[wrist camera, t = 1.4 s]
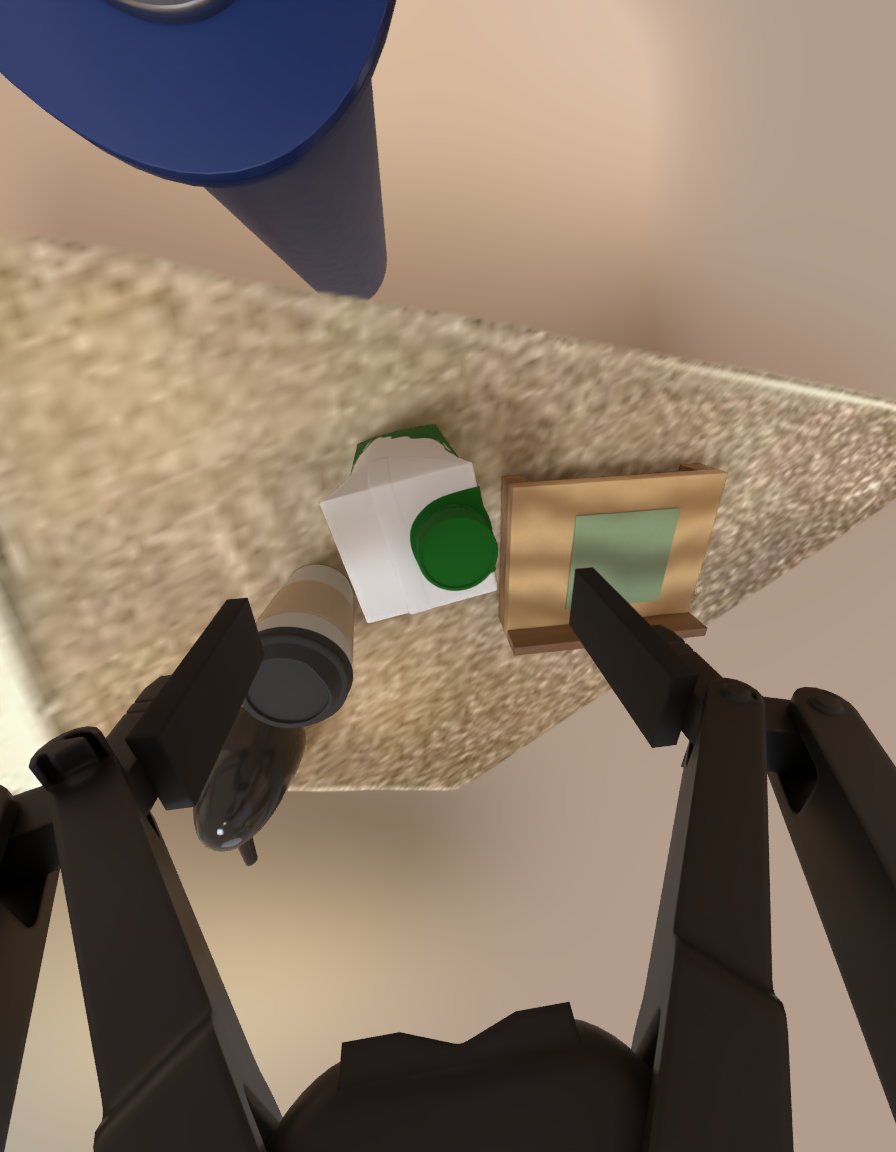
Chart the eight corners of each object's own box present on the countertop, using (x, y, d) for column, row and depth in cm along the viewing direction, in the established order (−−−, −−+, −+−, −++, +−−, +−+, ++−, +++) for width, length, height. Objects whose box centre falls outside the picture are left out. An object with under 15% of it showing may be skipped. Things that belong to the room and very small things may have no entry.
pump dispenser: (248, 753, 51) (196, 890, 38) (205, 695, 46) (128, 829, 33) (325, 732, 51) (300, 863, 38) (291, 672, 46) (248, 797, 33)
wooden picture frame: (501, 476, 38) (521, 497, 32) (699, 463, 40) (754, 480, 34) (498, 616, 46) (514, 656, 40) (665, 600, 48) (705, 635, 41)
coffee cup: (301, 640, 44) (261, 757, 31) (256, 572, 40) (187, 674, 27) (377, 613, 44) (369, 720, 31) (340, 541, 40) (312, 630, 26)
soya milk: (463, 504, 39) (518, 616, 22) (373, 527, 39) (355, 659, 22) (442, 409, 35) (489, 453, 17) (342, 436, 35) (287, 507, 18)
